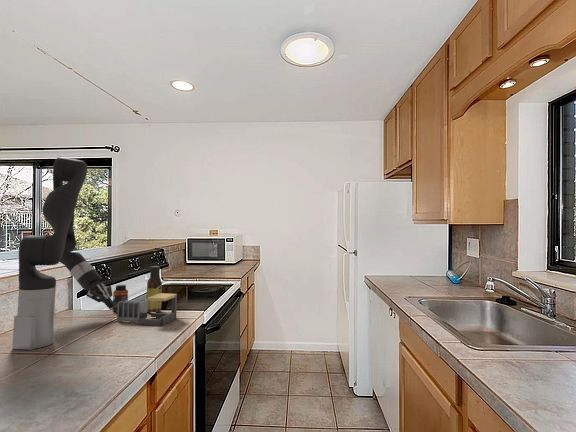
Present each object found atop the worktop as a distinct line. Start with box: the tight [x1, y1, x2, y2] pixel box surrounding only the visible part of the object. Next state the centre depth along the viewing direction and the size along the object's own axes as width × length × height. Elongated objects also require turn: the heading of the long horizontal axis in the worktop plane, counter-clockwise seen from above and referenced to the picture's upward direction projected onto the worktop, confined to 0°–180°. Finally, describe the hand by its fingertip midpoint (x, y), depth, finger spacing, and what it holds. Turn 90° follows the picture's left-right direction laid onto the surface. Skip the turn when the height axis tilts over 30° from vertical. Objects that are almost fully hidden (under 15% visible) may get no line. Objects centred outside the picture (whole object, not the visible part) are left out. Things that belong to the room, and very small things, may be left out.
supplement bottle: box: [112, 284, 129, 312], centre depth 153 cm, size 6×6×11 cm
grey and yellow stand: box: [137, 292, 178, 327], centre depth 136 cm, size 11×10×10 cm
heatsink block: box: [116, 299, 148, 323], centre depth 137 cm, size 6×9×8 cm, turn 83°
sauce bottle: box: [145, 265, 163, 313], centre depth 152 cm, size 6×6×20 cm
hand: (112, 307), depth 138 cm, fingers closed
